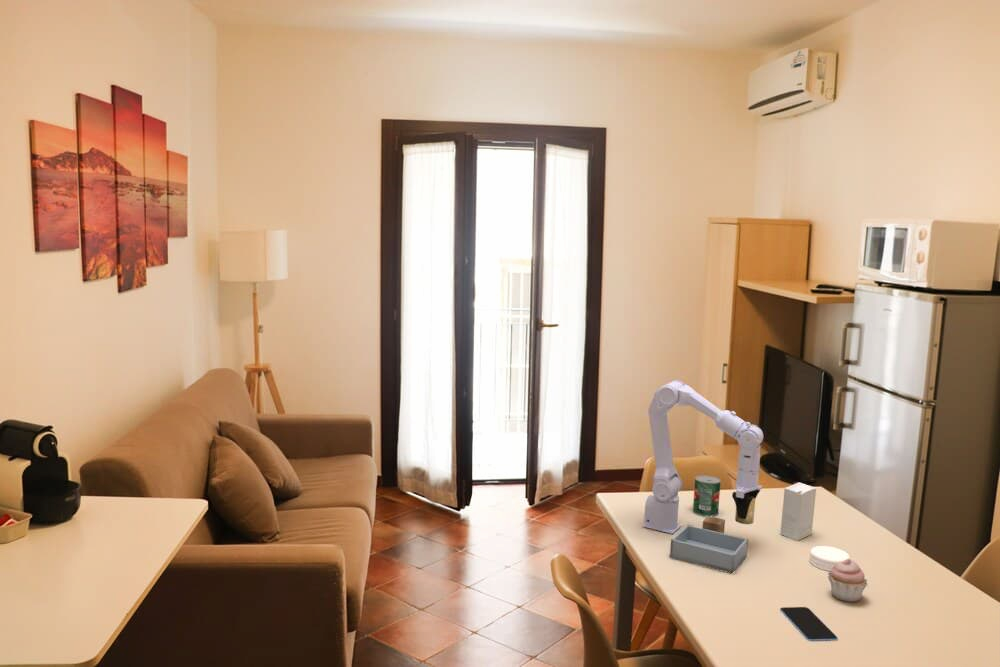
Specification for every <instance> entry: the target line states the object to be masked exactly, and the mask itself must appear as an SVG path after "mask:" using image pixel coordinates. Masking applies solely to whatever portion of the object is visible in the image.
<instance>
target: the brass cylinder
mask: <svg viewBox="0 0 1000 667" xmlns="http://www.w3.org/2000/svg"><path fill="white" fill-rule="evenodd" d="M748 496H751V495H748ZM752 497H753V496H752ZM755 505H756V499H755V497H754V498H753V499H752V501H751V503H750V506H749V509H748V513H747V517H746V519H741V518H738V515H737V509H736V508H735V513H734V514H735V516H734V517H735V518H734V521H735V522H737V523H738V524H741V525H752V524H754V521H755V520H754V519H755V509H756V508H755V507H756V506H755Z"/></svg>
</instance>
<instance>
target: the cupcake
mask: <svg viewBox="0 0 1000 667" xmlns="http://www.w3.org/2000/svg"><path fill="white" fill-rule="evenodd" d="M827 579H828V581H829V582H830V587H831V593H832V595H833V597H834V598H836V599H838V600H839V601H843V602H849V603H855V602H858V601H860V599H861V597H862V594H863V592H864V590H865V589H866V588H867V586H868V584H869V583H868V579H867V578H865V573H864V571H863V570H862V569H861V567H860V566H859V564H858V563H857V562H856V561H854V560H852V558H850V559H846V560H845V561H844V562H838V563H836V564H835V566H834V567H833V568H832V569H831V572H830V571H828V572H827Z"/></svg>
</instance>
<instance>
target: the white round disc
mask: <svg viewBox="0 0 1000 667" xmlns="http://www.w3.org/2000/svg"><path fill="white" fill-rule="evenodd" d="M809 552H810V554H809V560H808V561H809V563H810V564H811V565H812V566H814V567H815V568H817V569H819V570H822V571H826V572H831V569H832V568H833V567H834V566H835V564H836V563H838V562H844V561H845V560H846V559H851V557H850V555H849V553H847V552H846V551H844V550H843V549H841V548H838V547H833V546H828V545H827V546H826V545H825V546H824V545H819V546H814V547H812V548H810V551H809Z"/></svg>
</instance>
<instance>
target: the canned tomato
mask: <svg viewBox="0 0 1000 667" xmlns="http://www.w3.org/2000/svg"><path fill="white" fill-rule="evenodd" d="M721 481H722V480H721V479H720V478H719V477H717V476H713V475H708V474H699V475H696V476H695V478H694V490H693V503H692V512H693V513H694V514H695V513H696V514H695V515H697V514H698V515H697V516H700V515H702V516H701V517H706V516H713V517H716V516H715V515H717V514H718V515H719V509H720V508H719V507H720V496H721V494H720V492H721ZM718 515H717V516H718Z"/></svg>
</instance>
